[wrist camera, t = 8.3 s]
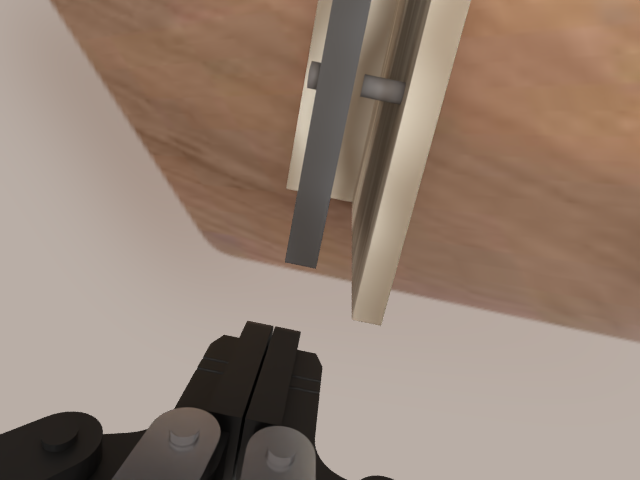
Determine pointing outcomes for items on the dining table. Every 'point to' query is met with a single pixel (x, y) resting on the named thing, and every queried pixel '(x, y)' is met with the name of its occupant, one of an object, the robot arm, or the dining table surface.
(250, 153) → the dining table surface
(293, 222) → the picture frame
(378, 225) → the wall board stand
